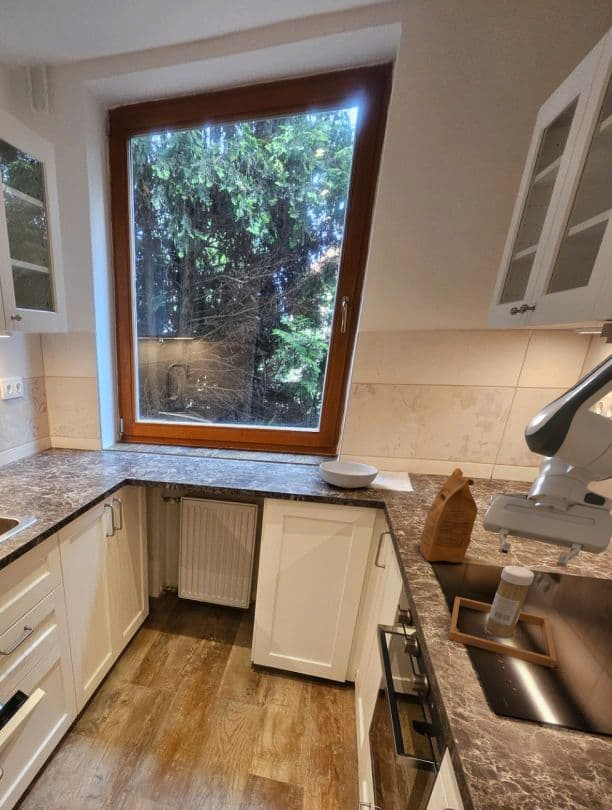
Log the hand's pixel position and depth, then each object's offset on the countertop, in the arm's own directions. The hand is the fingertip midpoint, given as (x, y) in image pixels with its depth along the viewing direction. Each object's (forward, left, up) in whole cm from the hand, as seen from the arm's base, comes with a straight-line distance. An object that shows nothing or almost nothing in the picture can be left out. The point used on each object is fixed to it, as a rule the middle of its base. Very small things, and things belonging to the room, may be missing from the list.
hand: (531, 558), depth 93 cm
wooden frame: (+3, +13, -12) cm, 18 cm away
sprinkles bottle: (+3, +13, -11) cm, 18 cm away
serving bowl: (+52, -75, -12) cm, 92 cm away
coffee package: (+15, -22, -12) cm, 30 cm away
